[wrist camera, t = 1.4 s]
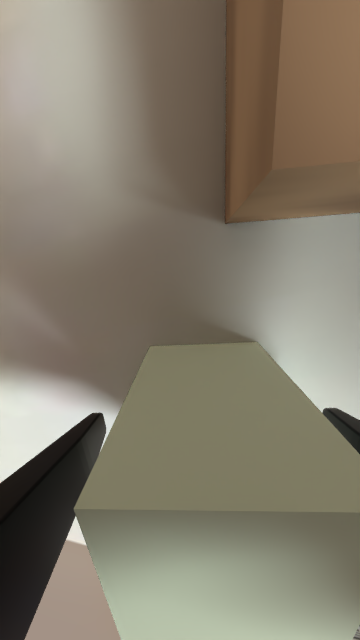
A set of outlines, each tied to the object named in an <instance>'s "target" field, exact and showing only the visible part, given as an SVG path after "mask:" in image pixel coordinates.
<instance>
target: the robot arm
mask: <svg viewBox="0 0 360 640" xmlns="http://www.w3.org/2000/svg"><path fill="white" fill-rule="evenodd" d="M322 414H323V415H324V416H325V417H326V418H327V419H328V420H329V421H330V422H331V423H332V424H333V426H334V427H335V428H336V429H337V430H338V431H339V432H340V433H341V434H342V435H343V437H344V438H345V439H346V440H347V441H348V442H349V443H350V444H351V445H352V446H353V448H354V449H355V450H356V451H357V452H358V453H359V454H360V420H358V419H356V418H354V417H352V416H351V415H349V414H347V413H345V412H343V411H341V410H339V409H337V408H325V409H324V410H323V413H322ZM105 434H106V425H105V421H104V417H103V414H102V413H92V414H90V415H89V416H87V417H86V418H85V419H83V420H82V421H81V422H80V423H78V424H77V425H76V426H74V427H73V428H72V429H70V430H69V431H68V432H66V433H65V434H64V435H63V436H61V437H60V438H59V439H57V440H56V441H55V442H53V443H52V444H51V445H50V446H48V447H47V448H46V449H44V450H43V451H42V452H40V453H39V454H38V455H36V456H35V457H34V458H33V459H31V460H30V461H29V462H27V463H26V464H25V465H23V466H22V467H21V468H19V469H18V470H17V471H16V472H14V473H13V474H12V475H10V476H9V477H8V478H6V479H5V480H4V481H2V482H1V483H0V640H24V639H25V637H26V634H27V632H28V630H29V627H30V625H31V622H32V620H33V618H34V615H35V613H36V610H37V608H38V606H39V603H40V601H41V598H42V596H43V593H44V591H45V589H46V586H47V584H48V581H49V579H50V577H51V574H52V572H53V569H54V567H55V564H56V562H57V560H58V557H59V555H60V552H61V550H62V548H63V545H64V542H65V540H66V538H67V536H68V533H69V531H70V528H71V526H72V523H73V521H74V519H75V516H76V514H75V512H74V507H75V505H76V503H77V501H78V498H79V496H80V494H81V492H82V490H83V488H84V486H85V484H86V481H87V479H88V477H89V475H90V473H91V471H92V469H93V467H94V464H95V462H96V460H97V458H98V456H99V453H100V450H101V447H102V443H103V440H104V437H105Z"/></svg>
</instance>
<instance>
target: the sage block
mask: <svg viewBox="0 0 360 640" xmlns="http://www.w3.org/2000/svg"><path fill="white" fill-rule="evenodd" d="M74 512H75V514H76V517H77V520H78V523H79V525H80V528H81V531H82V534H83V536H84V539H85V542H86V544H87V547H88V550H89V553H90V555H91V558H92V561H93V564H94V566H95V569H96V571H97V574H98V577H99V580H100V583H101V586H102V588H103V591H104V594H105V596H106V599H107V602H108V605H109V607H110V610H111V613H112V616H113V618H114V621H115V624H116V627H117V629H118V632H119V635H120V638H121V640H352V639H353V637H354V635H355V633H356V631H357V629H358V627H359V625H360V454H359V453H358V452H357V451H356V450H355V449H354V448H353V446H352V445H351V444H350V443H349V442H348V441H347V440H346V439H345V438H344V437H343V435H342V434H341V433H340V432H339V431H338V430H337V429H336V428H335V427H334V426H333V424H332V423H331V422H330V421H329V420H328V419H327V418H326V417H325V416H324V415H323V414H322V412H321V411H320V410H319V409H318V408H317V407H316V406H315V405H314V404H313V403H312V401H311V400H310V399H309V398H308V397H307V396H306V395H305V394H304V393H303V392H302V390H301V389H300V388H299V387H298V386H297V385H296V384H295V383H294V382H293V381H292V379H291V378H290V377H289V376H288V375H287V374H286V373H285V372H284V371H283V370H282V369H281V367H280V366H279V365H278V364H277V363H276V362H275V361H274V360H273V359H272V358H271V356H270V355H269V354H268V353H267V352H266V351H265V350H264V349H263V348H262V347H261V345H260V344H259V343H258V342H240V343H216V344H192V345H168V346H150V347H149V349H148V352H147V354H146V356H145V358H144V360H143V362H142V364H141V366H140V369H139V371H138V373H137V375H136V377H135V379H134V381H133V384H132V386H131V388H130V390H129V392H128V394H127V396H126V398H125V401H124V403H123V405H122V407H121V409H120V411H119V413H118V415H117V418H116V420H115V422H114V424H113V426H112V428H111V430H110V432H109V435H108V437H107V439H106V441H105V443H104V445H103V447H102V450H101V452H100V454H99V456H98V458H97V460H96V462H95V464H94V467H93V469H92V471H91V473H90V475H89V477H88V479H87V481H86V484H85V486H84V488H83V490H82V492H81V494H80V496H79V498H78V501H77V503H76V505H75V507H74Z"/></svg>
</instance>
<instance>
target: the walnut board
mask: <svg viewBox="0 0 360 640" xmlns="http://www.w3.org/2000/svg"><path fill="white" fill-rule="evenodd" d="M349 213H360V0H226V151H225V224H227V223H239V222H251V221H264V220H276V219H288V218H300V217H312V216H324V215H336V214H349Z"/></svg>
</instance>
